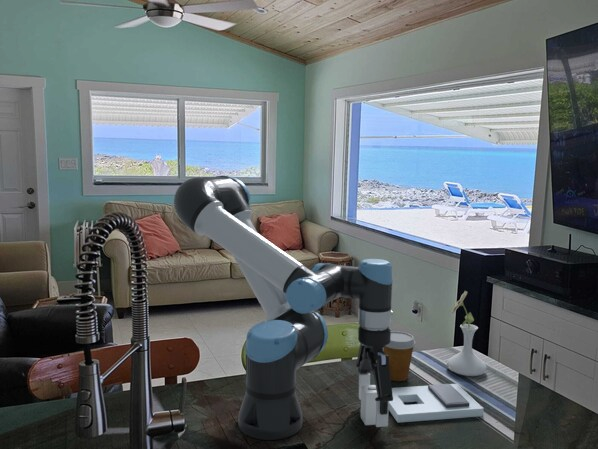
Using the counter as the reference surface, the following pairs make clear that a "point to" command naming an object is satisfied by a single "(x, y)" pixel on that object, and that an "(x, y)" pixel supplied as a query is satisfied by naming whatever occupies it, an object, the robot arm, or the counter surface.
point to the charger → (368, 404)
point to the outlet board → (428, 405)
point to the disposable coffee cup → (399, 354)
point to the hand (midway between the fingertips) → (372, 411)
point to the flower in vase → (466, 349)
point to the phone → (448, 395)
